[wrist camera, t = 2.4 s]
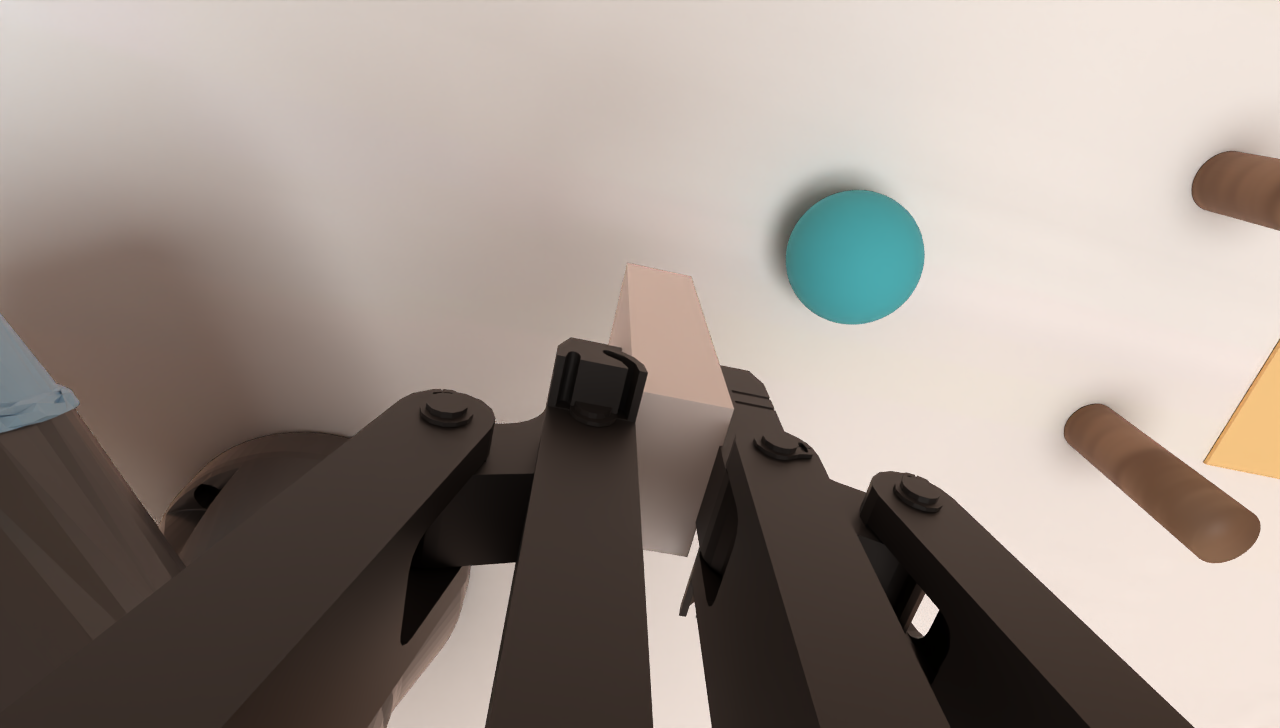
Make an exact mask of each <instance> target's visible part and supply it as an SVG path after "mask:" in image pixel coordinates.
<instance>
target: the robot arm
mask: <svg viewBox="0 0 1280 728" xmlns="http://www.w3.org/2000/svg"><path fill="white" fill-rule="evenodd" d="M79 403H80V402H79V400H78V399H77V397H76V396H75V395H74V393H73V391H72V390H71V389H69V388H66V387H65V386H63V385H60V384H56V382H55V381H54V380H53V379H52V377H51V376H50V375H49V374H48V372H47V371H46V370H45V369H44V367H43V366H42V365H41V363H40V362H39V361H38V360H37V358H36V357H35V356H34V355H33V353H32V352H31V351H30V350H29V348H28V347H27V346H26V345H25V343H24V342H23V341H22V340H21V338H20V337H19V336H18V335H17V333H16V332H15V331H14V330H13V328H12V327H11V326H10V325H9V323H8V322H7V321H6V320H5V318H4V317H3V316H2V315H1V313H0V728H386V727H387V724H388V721H389V719H390V716H391V713H392V711H393V710H394V709H395V707H396V706H397V705H398V703H399V702H400V701H401V700H402V698H403V697H404V696H405V695H406V693H407V692H408V691H409V690H410V688H411V687H412V686H413V684H414V683H415V682H416V681H417V679H418V678H419V677H420V676H421V674H422V673H423V672H424V670H425V669H426V668H427V667H428V665H429V664H430V663H431V662H432V660H433V659H434V658H435V656H436V655H437V654H438V653H439V651H440V650H441V649H442V648H443V646H444V645H445V643H446V642H447V640H448V639H449V637H450V635H451V633H452V631H453V629H454V627H455V625H456V623H457V621H458V618H459V615H460V612H461V608H462V605H463V601H464V597H465V594H466V590H467V586H468V582H469V575H470V566H472V565H485V564H499V563H512V562H516V565H515V570H514V575H513V581H512V586H511V591H510V597H509V602H508V607H507V613H506V618H505V623H504V629H503V634H502V639H501V645H500V650H499V655H498V661H497V666H496V671H495V677H494V682H493V687H492V693H491V698H490V703H489V709H488V714H487V719H486V725H485V728H653V716H652V699H651V682H650V665H649V648H648V630H647V613H646V596H645V579H644V562H643V550H649V551H655V552H661V553H667V554H673V555H679V556H685V557H688V554H689V550H690V547H691V544H692V541H693V538H694V534H695V531H696V528H697V534H698V540H699V546H700V547H699V550H698V553H697V556H696V559H695V562H694V566H693V569H692V572H691V575H690V578H689V581H688V584H687V587H686V590H685V594H684V597H683V600H682V603H681V607H680V613H679V616H685V617H686V615H687V612H688V609H689V606H690V605H691V604H692V603H694V602H695V608H696V618H697V623H698V630H699V637H700V644H701V652H702V659H703V666H704V674H705V681H706V688H707V695H708V703H709V710H710V717H711V724H712V728H1194V727H1193V726H1192V725H1191V724H1190V723H1189V722H1188V721H1187V720H1186V719H1185V718H1184V717H1183V716H1182V715H1181V714H1179V713H1178V712H1177V711H1176V710H1175V709H1174V708H1173V707H1172V706H1171V705H1170V704H1169V703H1168V702H1167V701H1166V700H1165V699H1164V698H1163V697H1162V696H1161V695H1159V694H1158V693H1157V692H1156V691H1155V690H1154V689H1153V688H1152V687H1151V686H1150V685H1149V684H1148V683H1147V682H1146V681H1145V680H1144V679H1143V678H1142V677H1141V676H1139V675H1138V674H1137V673H1136V672H1135V671H1134V670H1133V669H1132V668H1131V667H1130V666H1129V665H1128V664H1127V663H1126V662H1125V661H1124V660H1123V659H1122V658H1121V657H1119V656H1118V655H1117V654H1116V653H1115V652H1114V651H1113V650H1112V649H1111V648H1110V647H1109V646H1108V645H1107V644H1106V643H1105V642H1104V641H1103V640H1102V639H1100V638H1099V637H1098V636H1097V635H1096V634H1095V633H1094V632H1093V631H1092V630H1091V629H1090V628H1089V627H1088V626H1087V625H1086V624H1085V623H1084V622H1083V621H1082V620H1080V619H1079V618H1078V617H1077V616H1076V615H1075V614H1074V613H1073V612H1072V611H1071V610H1070V609H1069V608H1068V607H1067V606H1066V605H1065V604H1064V603H1063V602H1062V601H1060V600H1059V599H1058V598H1057V597H1056V596H1055V595H1054V594H1053V593H1052V592H1051V591H1050V590H1049V589H1048V588H1047V587H1046V586H1045V585H1044V584H1043V583H1042V582H1040V581H1039V580H1038V579H1037V578H1036V577H1035V576H1034V575H1033V574H1032V573H1031V572H1030V571H1029V570H1028V569H1027V568H1026V567H1025V566H1024V565H1023V564H1022V563H1020V562H1019V561H1018V560H1017V559H1016V558H1015V557H1014V556H1013V555H1012V554H1011V553H1010V552H1009V551H1008V550H1007V549H1006V548H1005V547H1004V546H1003V545H1001V544H1000V543H999V542H998V541H997V540H996V539H995V538H994V537H993V536H992V535H991V534H990V533H989V532H988V531H987V530H986V529H985V528H984V527H983V526H981V525H980V524H979V523H978V522H977V521H976V520H975V519H974V518H973V517H972V516H971V515H970V514H969V513H968V512H967V511H966V510H965V509H964V508H963V507H961V506H960V505H959V504H958V503H957V502H956V501H955V500H954V499H953V498H952V497H950V496H949V495H948V494H947V493H945V492H944V491H943V490H941V489H940V488H938V487H936V486H935V485H933V484H931V483H929V481H928V480H926V479H924V478H922V477H919V476H917V477H915V475H913V474H910V473H899V472H893V471H888V472H879V473H878V474H876V475H875V476H874V477H873V478H872V480H871V482H870V485H869V487H868V490H867V492H863V491H860V490H857V489H854V488H852V487H849V486H846V485H843V484H840V483H838V482H835V481H833V480H831V479H829V477H828V475H827V473H826V470H825V468H824V466H823V464H822V462H821V460H820V458H819V456H818V455H817V454H816V452H815V451H814V450H813V449H812V447H810V446H809V445H808V444H807V443H805V442H803V441H802V440H801V439H799V438H797V437H795V436H793V435H791V434H788V433H786V432H784V430H783V427H782V425H781V423H780V421H779V418H778V416H777V414H776V411H774V407H773V404H772V402H771V400H769V395H768V393H767V391H766V388H765V386H764V384H763V383H762V382H761V381H759V380H758V379H757V378H756V377H755V376H754V375H753V374H752V373H750V372H749V371H746V370H741V369H736V368H731V367H726V366H721V365H720V364H719V361H718V358H717V355H716V352H715V349H714V346H713V342H712V339H711V336H710V333H709V330H708V327H707V324H706V321H705V318H704V315H703V312H702V308H701V305H700V302H699V299H698V296H697V293H696V290H695V287H694V284H693V281H692V278H691V276H687V275H682V274H677V273H673V272H668V271H663V270H659V269H654V268H649V267H645V266H640V265H635V264H631V263H627V265H626V270H625V274H624V278H623V283H622V287H621V291H620V296H619V300H618V305H617V309H616V313H615V318H614V322H613V326H612V331H611V335H610V340H609V344H608V345H606V344H601V343H596V342H591V341H586V340H581V339H576V338H569V339H568V340H566V341H565V342H563V343H562V344H560V345H559V346H558V349H557V354H556V359H555V364H554V369H553V374H552V379H551V384H550V389H549V394H548V399H547V404H546V408H545V410H544V412H543V413H542V414H541V415H539V416H538V417H536V418H534V419H531V420H529V421H525V422H520V423H509V424H495V416H494V414H493V411H492V409H491V408H490V407H488V406H487V405H486V404H485V403H484V402H482V401H481V400H479V399H476V398H474V397H472V396H469V395H467V394H463V393H458V392H456V391H453V390H446V389H443V390H441V389H432V390H427V391H422V392H416V393H412V394H410V395H408V396H406V397H404V398H402V399H400V400H399V401H398V402H396V403H395V404H394V405H393V406H391V407H390V408H389V409H387V410H386V411H385V412H384V413H382V414H381V415H380V416H379V417H377V418H376V419H375V420H373V421H372V422H371V423H370V424H368V425H367V426H366V427H364V428H363V429H362V430H361V431H359V432H358V433H357V434H356V435H354V436H353V437H352V438H350V439H349V438H346V437H341V436H336V435H330V434H322V433H307V432H296V433H282V434H274V435H269V436H264V437H260V438H256V439H253V440H250V441H247V442H244V443H242V444H239V445H237V446H235V447H233V448H231V449H229V450H227V451H225V452H224V453H222V454H220V455H219V456H217V457H216V458H215V459H213V460H212V461H211V462H209V463H208V464H207V465H206V466H205V467H204V468H203V469H202V470H201V471H200V472H199V473H198V474H197V475H196V476H195V477H194V478H193V479H192V480H191V481H190V482H189V483H188V484H187V485H186V486H185V487H184V489H183V490H182V491H181V492H180V493H179V494H178V495H177V496H176V498H175V499H174V500H173V502H172V503H171V504H170V506H169V508H168V509H167V511H166V513H165V514H164V516H163V518H162V520H161V522H160V524H159V526H157V525H156V523H155V522H154V521H153V519H152V518H151V516H150V515H149V514H148V512H147V511H146V509H145V508H144V507H143V505H142V504H141V502H140V501H139V499H138V498H137V497H136V495H135V494H134V492H133V491H132V490H131V488H130V487H129V485H128V484H127V482H126V481H125V480H124V478H123V477H122V475H121V474H120V473H119V471H118V470H117V468H116V467H115V465H114V464H113V463H112V461H111V460H110V458H109V457H108V456H107V454H106V453H105V451H104V450H103V448H102V447H101V446H100V444H99V443H98V441H97V440H96V439H95V437H94V436H93V434H92V433H91V432H90V430H89V429H88V427H87V426H86V424H85V423H84V422H83V420H82V419H81V417H80V416H79V415H78V413H77V412H76V410H75V409H74V408H76V407H77V406H78V405H79ZM925 593H926V594H927V596H928V597H929V598H930V599H931V600H932V602H933V603H934V604H935V605H936V606H937V608H938V609H939V612H938V614H937V616H936V618H935V620H934V622H933V624H932V626H931V628H930V630H929V632H928V633H927V634H926V635H925V636H923V635H922V634H921V633H919V632H918V631H917V629H916V628H915V627H914V626H913V624H912V623H911V622H912V620H913V617H914V615H915V613H916V611H917V609H918V607H919V605H920V603H921V601H922V599H923V597H924V595H925Z"/></svg>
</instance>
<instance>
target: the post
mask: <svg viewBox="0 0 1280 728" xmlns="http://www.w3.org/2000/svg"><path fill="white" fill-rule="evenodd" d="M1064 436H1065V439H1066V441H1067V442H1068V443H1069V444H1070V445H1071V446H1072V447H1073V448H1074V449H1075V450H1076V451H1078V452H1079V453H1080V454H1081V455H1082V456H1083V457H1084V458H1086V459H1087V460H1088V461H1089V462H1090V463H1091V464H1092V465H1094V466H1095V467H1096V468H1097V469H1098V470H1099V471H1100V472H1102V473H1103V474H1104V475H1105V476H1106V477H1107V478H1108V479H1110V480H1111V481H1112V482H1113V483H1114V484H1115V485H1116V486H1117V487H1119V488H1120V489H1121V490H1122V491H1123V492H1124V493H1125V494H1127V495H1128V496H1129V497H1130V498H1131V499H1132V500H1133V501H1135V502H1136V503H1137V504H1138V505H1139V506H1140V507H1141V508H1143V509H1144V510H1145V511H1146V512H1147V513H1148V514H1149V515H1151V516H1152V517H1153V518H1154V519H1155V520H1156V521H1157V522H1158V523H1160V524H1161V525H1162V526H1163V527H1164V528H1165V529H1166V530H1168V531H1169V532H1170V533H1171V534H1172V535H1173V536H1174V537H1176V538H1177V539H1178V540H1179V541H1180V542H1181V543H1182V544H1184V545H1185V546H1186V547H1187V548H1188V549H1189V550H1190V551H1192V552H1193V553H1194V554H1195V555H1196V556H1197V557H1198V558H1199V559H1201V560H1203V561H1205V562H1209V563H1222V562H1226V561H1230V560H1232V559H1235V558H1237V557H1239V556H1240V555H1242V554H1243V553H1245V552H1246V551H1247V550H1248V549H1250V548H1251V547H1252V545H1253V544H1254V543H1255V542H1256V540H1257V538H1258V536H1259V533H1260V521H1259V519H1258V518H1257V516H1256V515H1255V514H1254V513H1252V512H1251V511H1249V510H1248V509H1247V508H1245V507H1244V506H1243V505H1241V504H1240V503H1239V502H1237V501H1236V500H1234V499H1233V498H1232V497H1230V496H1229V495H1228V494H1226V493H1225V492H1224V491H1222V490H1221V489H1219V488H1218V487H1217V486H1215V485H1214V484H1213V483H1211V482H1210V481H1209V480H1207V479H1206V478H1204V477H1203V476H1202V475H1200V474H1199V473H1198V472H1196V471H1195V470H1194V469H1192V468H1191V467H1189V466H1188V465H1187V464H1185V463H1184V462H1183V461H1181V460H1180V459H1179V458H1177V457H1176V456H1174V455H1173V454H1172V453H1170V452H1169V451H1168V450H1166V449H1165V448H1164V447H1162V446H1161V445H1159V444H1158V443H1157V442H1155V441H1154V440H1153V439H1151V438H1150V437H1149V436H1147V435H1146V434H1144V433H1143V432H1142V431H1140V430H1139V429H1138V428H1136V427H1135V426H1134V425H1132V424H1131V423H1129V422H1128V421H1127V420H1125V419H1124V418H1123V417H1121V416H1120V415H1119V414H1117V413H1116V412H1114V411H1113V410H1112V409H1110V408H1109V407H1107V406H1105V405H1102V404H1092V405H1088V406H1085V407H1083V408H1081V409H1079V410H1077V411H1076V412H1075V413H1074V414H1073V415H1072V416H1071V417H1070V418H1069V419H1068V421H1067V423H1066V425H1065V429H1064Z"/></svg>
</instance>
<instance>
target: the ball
mask: <svg viewBox="0 0 1280 728" xmlns="http://www.w3.org/2000/svg"><path fill="white" fill-rule="evenodd" d="M924 255H925V254H924V244H923V239H922V235H921V232H920V230H919V227H918V226H917V224H916V222H915V220H914V219H913V217H912V216H911V215H910V213H909V212H908V211H907V210H906V209H905V208H904V207H903V206H901V205H900V204H899V203H898V202H896V201H895V200H893V199H891V198H889V197H887V196H885V195H882V194H879V193H876V192H873V191H866V190H850V191H843V192H839V193H836V194H833V195H830V196H828V197H826V198H824V199H822V200H820V201H819V202H817V203H816V204H814V205H813V206H812V207H811V208H810V209H809V210H807V211H806V212H805V213H804V215H803V216H802V217H801V218H800V219H799V221H798V222H797V224H796V225H795V227H794V229H793V231H792V233H791V235H790V238H789V241H788V245H787V250H786V270H787V275H788V279H789V282H790V284H791V286H792V288H793V290H794V292H795V294H796V295H797V297H798V298H799V300H800V301H801V302H802V303H803V304H804V305H805V306H806V307H807V308H808V309H809V310H811V311H812V312H813V313H815V314H816V315H818V316H820V317H822V318H824V319H827V320H829V321H832V322H836V323H841V324H864V323H869V322H873V321H875V320H878V319H881V318H883V317H885V316H887V315H889V314H891V313H892V312H894V311H895V310H896V309H898V308H899V307H900V306H901V305H902V304H903V303H904V302H905V301H906V300H907V299H908V298H909V297H910V295H911V294H912V293H913V291H914V289H915V288H916V286H917V284H918V282H919V279H920V277H921V273H922V270H923V265H924Z"/></svg>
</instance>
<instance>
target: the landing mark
mask: <svg viewBox="0 0 1280 728" xmlns="http://www.w3.org/2000/svg"><path fill="white" fill-rule="evenodd" d="M1204 463H1205V464H1207V465H1212V466H1217V467H1222V468H1227V469H1232V470H1237V471H1242V472H1247V473H1252V474H1257V475H1262V476H1267V477H1272V478H1277V479H1280V341H1279V342H1278V344H1277V346H1276V347H1275V349H1274V350H1273V352H1272V354H1271V355H1270V357H1269V358H1268V360H1267V362H1266V363H1265V365H1264V366H1263V368H1262V370H1261V371H1260V373H1259V374H1258V376H1257V378H1256V379H1255V381H1254V382H1253V384H1252V386H1251V387H1250V389H1249V390H1248V392H1247V394H1246V395H1245V397H1244V398H1243V400H1242V402H1241V403H1240V405H1239V406H1238V408H1237V410H1236V411H1235V413H1234V414H1233V416H1232V418H1231V419H1230V421H1229V422H1228V424H1227V426H1226V427H1225V429H1224V430H1223V432H1222V434H1221V435H1220V437H1219V438H1218V440H1217V442H1216V443H1215V445H1214V446H1213V448H1212V450H1211V451H1210V453H1209V455H1208V456H1207V458H1206V459H1205V461H1204Z"/></svg>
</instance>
